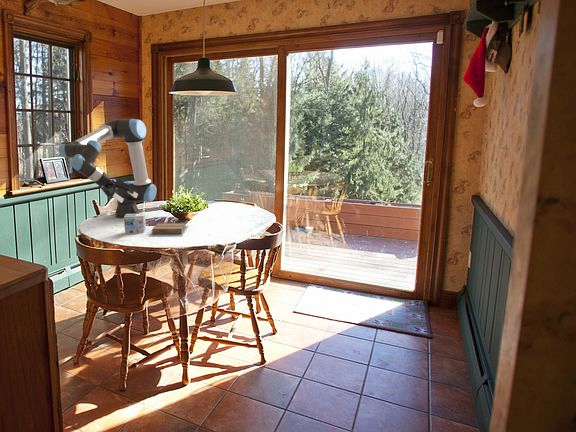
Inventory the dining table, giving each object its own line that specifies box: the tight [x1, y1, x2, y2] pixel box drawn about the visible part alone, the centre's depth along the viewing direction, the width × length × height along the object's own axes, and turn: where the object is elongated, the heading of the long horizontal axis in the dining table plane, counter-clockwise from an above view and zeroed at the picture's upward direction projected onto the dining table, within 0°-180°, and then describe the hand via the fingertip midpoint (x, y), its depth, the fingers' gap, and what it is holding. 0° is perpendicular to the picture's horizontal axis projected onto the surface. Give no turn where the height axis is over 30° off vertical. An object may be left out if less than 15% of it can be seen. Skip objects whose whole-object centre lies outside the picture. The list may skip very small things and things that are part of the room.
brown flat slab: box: [148, 225, 189, 238], centre depth 236 cm, size 24×18×1 cm
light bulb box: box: [123, 213, 147, 235], centre depth 233 cm, size 11×7×11 cm, turn 101°
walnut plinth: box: [151, 222, 187, 234], centre depth 235 cm, size 14×16×3 cm
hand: (129, 198), depth 235 cm, fingers open, 13 cm apart
